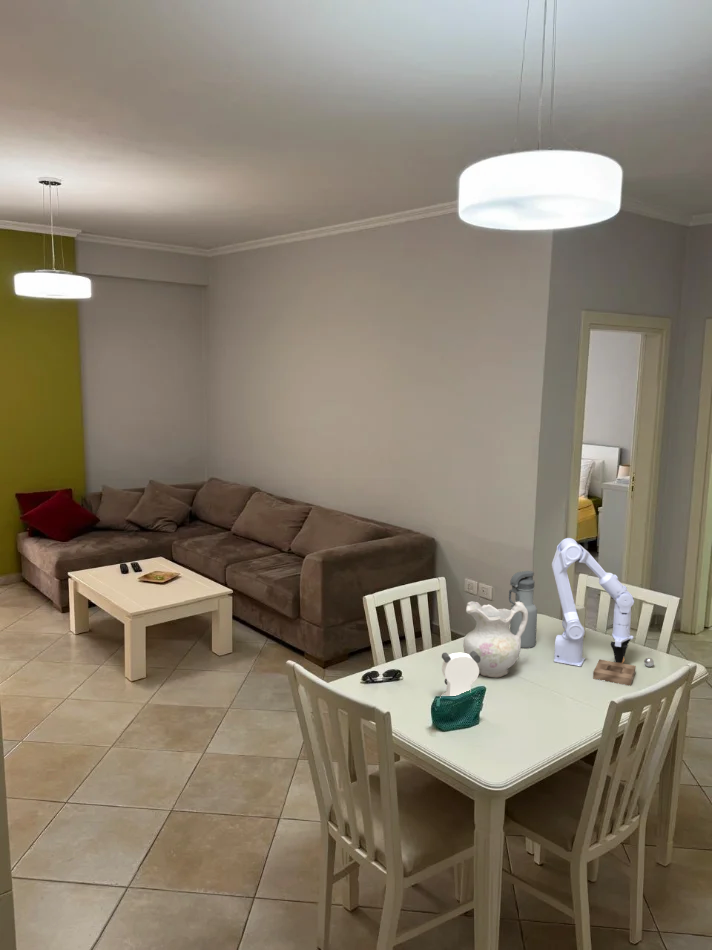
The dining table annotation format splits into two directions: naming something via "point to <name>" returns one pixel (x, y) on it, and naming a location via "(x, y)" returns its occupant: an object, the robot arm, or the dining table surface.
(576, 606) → the skincare box
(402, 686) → the dining table surface
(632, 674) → the hole plate
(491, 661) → the ceramic pitcher
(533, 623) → the water bottle
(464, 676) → the panda figurine
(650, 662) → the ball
